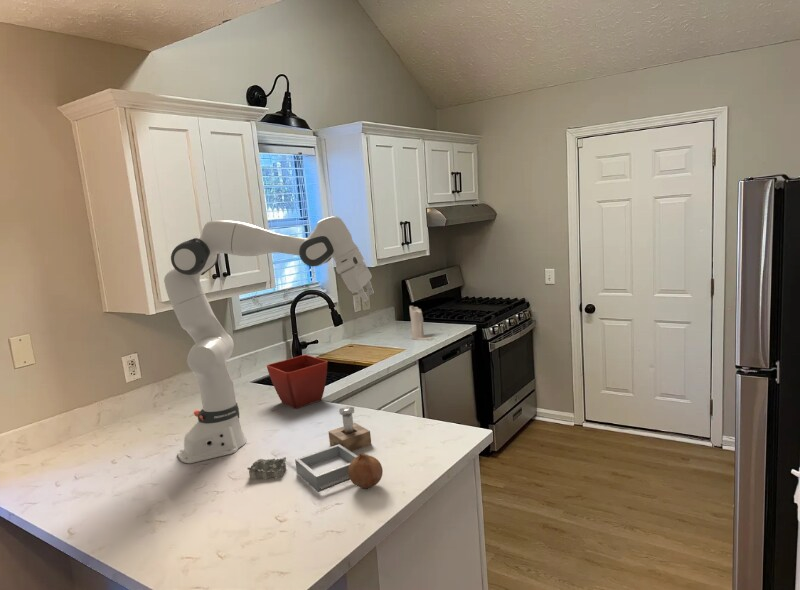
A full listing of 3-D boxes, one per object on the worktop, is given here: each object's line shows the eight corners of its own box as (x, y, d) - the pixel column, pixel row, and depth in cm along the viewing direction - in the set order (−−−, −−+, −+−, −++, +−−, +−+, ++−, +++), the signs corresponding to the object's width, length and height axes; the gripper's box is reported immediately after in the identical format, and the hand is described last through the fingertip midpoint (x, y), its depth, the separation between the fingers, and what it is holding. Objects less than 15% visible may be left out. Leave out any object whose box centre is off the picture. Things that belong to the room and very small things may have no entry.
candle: (430, 340, 314) (427, 306, 311) (409, 339, 321) (407, 306, 318) (436, 337, 320) (433, 304, 317) (415, 336, 327) (412, 304, 324)
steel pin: (347, 448, 173) (343, 413, 171) (340, 444, 177) (336, 409, 175) (360, 444, 176) (356, 409, 174) (353, 439, 180) (349, 405, 178)
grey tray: (318, 492, 150) (316, 477, 150) (296, 473, 163) (295, 459, 162) (364, 474, 158) (363, 459, 158) (341, 457, 171) (339, 444, 170)
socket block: (344, 458, 170) (342, 440, 169) (330, 448, 178) (328, 431, 177) (371, 448, 175) (370, 431, 174) (356, 439, 184) (355, 422, 183)
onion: (344, 486, 152) (341, 453, 151) (374, 476, 157) (371, 443, 155) (359, 500, 144) (355, 465, 142) (390, 489, 148) (386, 454, 147)
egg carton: (247, 481, 161) (245, 468, 161) (255, 469, 169) (254, 456, 168) (281, 479, 160) (279, 466, 160) (289, 467, 168) (287, 455, 167)
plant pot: (291, 413, 214) (286, 372, 212) (270, 403, 229) (265, 364, 227) (332, 400, 226) (328, 361, 223) (310, 391, 241) (305, 354, 238)
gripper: (348, 259, 191) (367, 294, 193) (334, 270, 171) (354, 308, 173) (364, 252, 189) (382, 286, 191) (351, 261, 170) (371, 300, 172)
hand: (369, 297), depth 182 cm, fingers open, 8 cm apart
